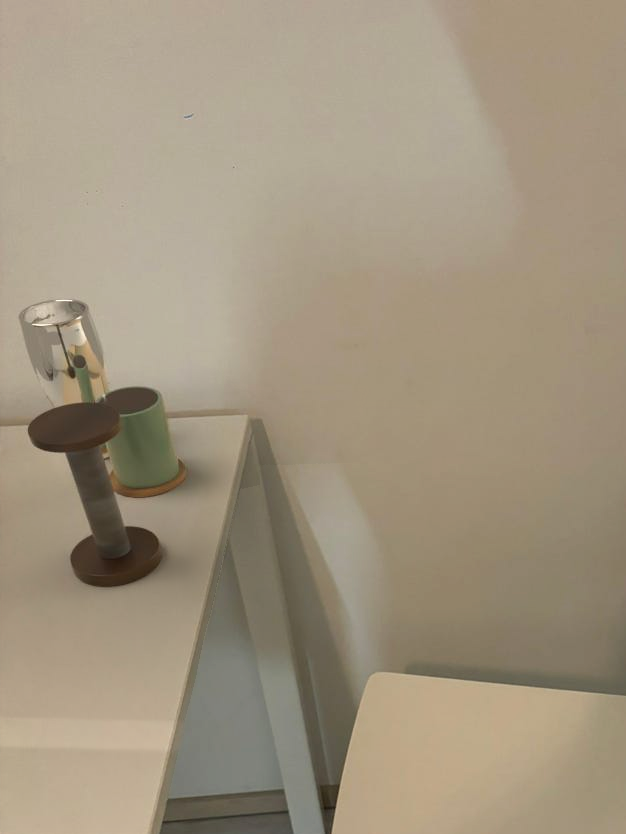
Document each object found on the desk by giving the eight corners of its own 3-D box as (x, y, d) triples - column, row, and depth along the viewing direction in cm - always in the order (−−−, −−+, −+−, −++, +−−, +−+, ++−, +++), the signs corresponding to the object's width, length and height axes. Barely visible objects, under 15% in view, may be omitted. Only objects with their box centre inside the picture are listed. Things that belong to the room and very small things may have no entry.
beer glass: (137, 451, 101) (100, 315, 91) (72, 470, 98) (26, 331, 88) (117, 425, 105) (78, 292, 95) (54, 443, 102) (8, 308, 92)
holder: (60, 586, 83) (7, 445, 74) (91, 535, 89) (45, 399, 80) (147, 587, 83) (105, 446, 74) (172, 536, 89) (135, 400, 79)
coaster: (99, 496, 94) (98, 491, 94) (123, 458, 100) (122, 453, 99) (174, 497, 94) (173, 492, 93) (194, 459, 100) (193, 454, 99)
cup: (107, 488, 94) (84, 415, 89) (127, 456, 99) (106, 385, 94) (169, 489, 94) (150, 416, 89) (187, 456, 99) (170, 385, 93)
